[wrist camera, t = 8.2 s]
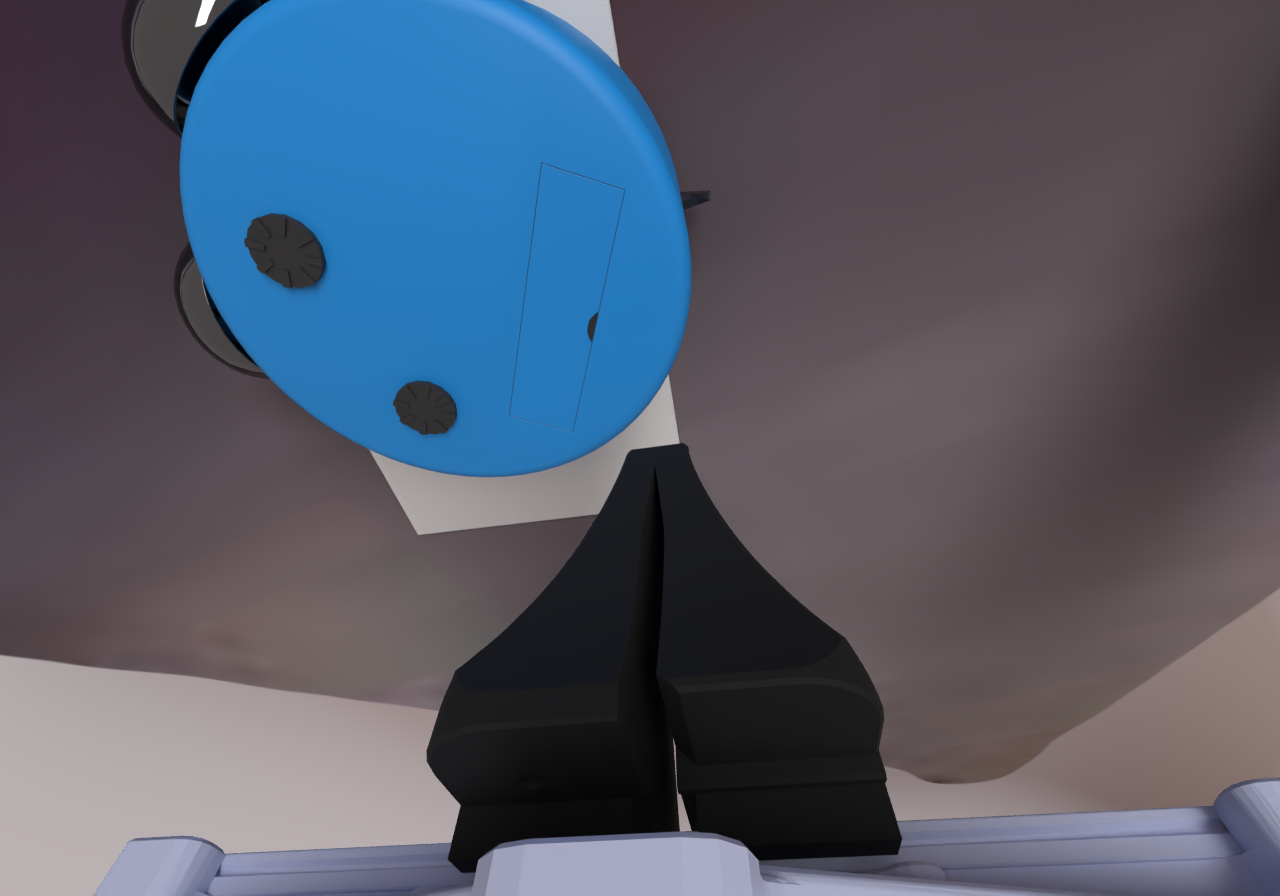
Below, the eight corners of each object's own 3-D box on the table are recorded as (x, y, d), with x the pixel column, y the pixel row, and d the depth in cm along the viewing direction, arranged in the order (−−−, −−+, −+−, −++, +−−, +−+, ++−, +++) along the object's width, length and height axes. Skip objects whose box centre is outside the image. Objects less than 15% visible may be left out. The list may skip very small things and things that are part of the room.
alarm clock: (746, 82, 17) (208, -117, 14) (787, 101, 12) (-26, -198, 9) (627, 425, 24) (262, 331, 22) (621, 524, 19) (148, 418, 17)
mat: (604, -29, 16) (603, -31, 15) (688, 498, 27) (688, 503, 27) (162, 72, 17) (152, 73, 17) (420, 529, 29) (418, 534, 29)
